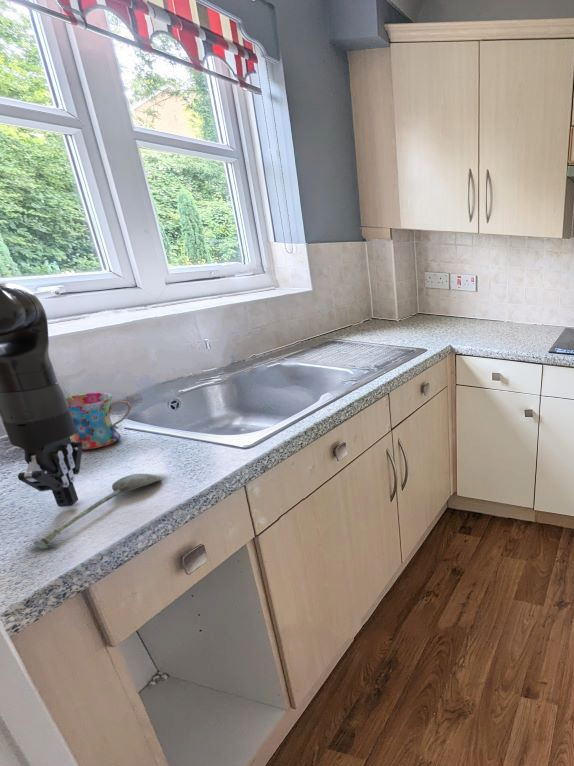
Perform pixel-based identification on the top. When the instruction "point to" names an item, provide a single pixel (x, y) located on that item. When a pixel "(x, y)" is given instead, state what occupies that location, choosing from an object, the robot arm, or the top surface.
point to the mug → (94, 419)
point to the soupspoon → (118, 487)
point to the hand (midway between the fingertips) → (68, 504)
